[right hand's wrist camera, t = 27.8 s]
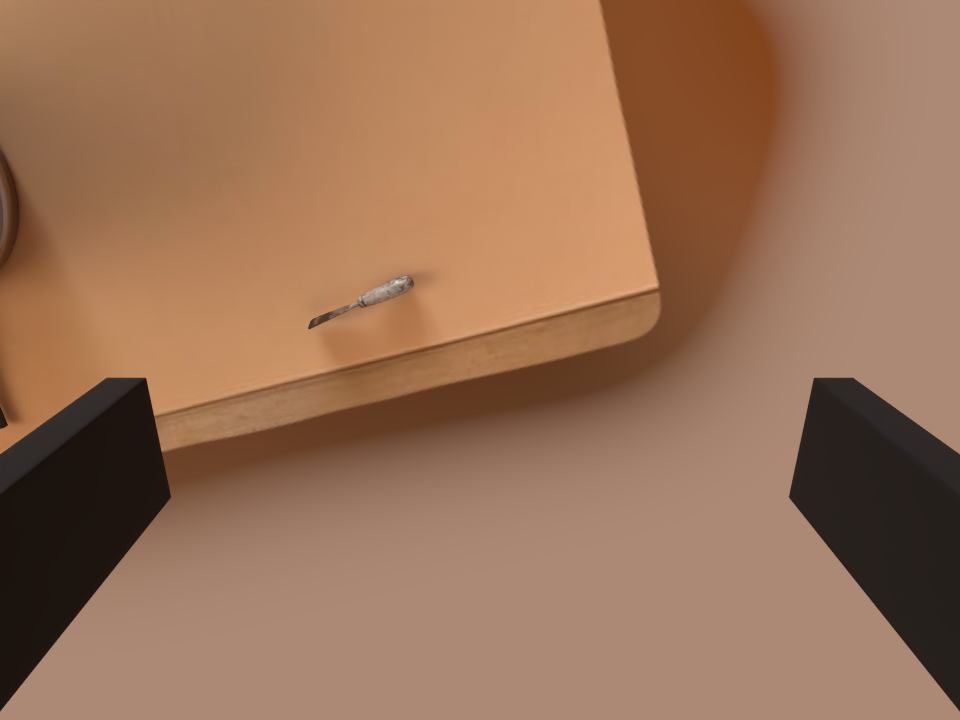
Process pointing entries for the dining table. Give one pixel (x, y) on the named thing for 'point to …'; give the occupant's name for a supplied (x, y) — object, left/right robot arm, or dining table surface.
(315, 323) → the putty knife
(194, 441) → the dining table surface
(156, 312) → the dining table surface
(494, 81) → the dining table surface
